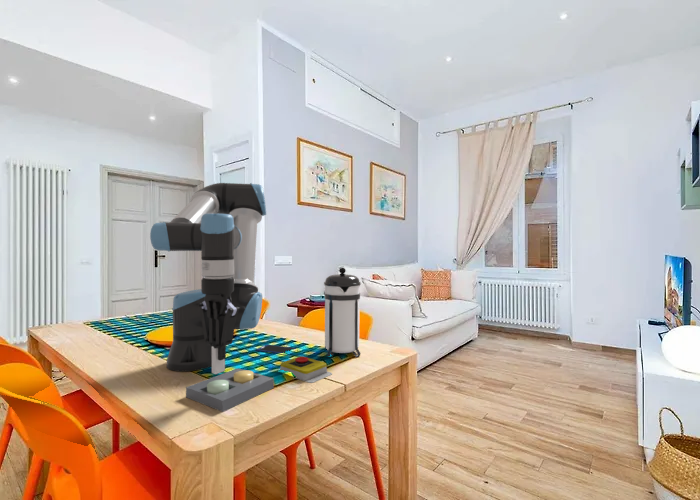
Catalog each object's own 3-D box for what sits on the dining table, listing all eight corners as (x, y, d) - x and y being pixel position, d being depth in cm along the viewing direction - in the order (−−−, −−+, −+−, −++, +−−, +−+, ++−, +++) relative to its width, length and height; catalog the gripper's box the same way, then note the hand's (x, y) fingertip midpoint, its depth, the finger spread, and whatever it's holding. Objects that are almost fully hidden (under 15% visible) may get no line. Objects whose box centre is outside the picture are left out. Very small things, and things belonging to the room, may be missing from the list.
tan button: (229, 385, 94) (229, 374, 94) (244, 379, 98) (244, 369, 98) (242, 390, 91) (242, 378, 91) (257, 383, 95) (257, 372, 95)
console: (186, 397, 88) (186, 387, 88) (238, 377, 101) (238, 368, 101) (222, 411, 80) (222, 400, 80) (273, 387, 94) (273, 378, 94)
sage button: (202, 396, 87) (202, 384, 87) (220, 389, 91) (220, 378, 91) (215, 401, 84) (215, 389, 84) (232, 394, 88) (233, 382, 88)
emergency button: (298, 351, 114) (333, 360, 104) (298, 364, 114) (333, 375, 104) (275, 358, 106) (311, 369, 97) (275, 372, 106) (311, 385, 97)
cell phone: (266, 346, 133) (266, 344, 133) (299, 350, 128) (299, 348, 128) (254, 351, 126) (254, 349, 126) (289, 356, 122) (289, 354, 122)
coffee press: (373, 351, 126) (374, 267, 126) (343, 362, 114) (343, 269, 114) (338, 342, 138) (338, 265, 137) (307, 351, 126) (307, 267, 125)
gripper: (187, 276, 87) (188, 371, 88) (222, 280, 80) (222, 382, 81) (214, 273, 94) (214, 362, 95) (248, 277, 87) (248, 372, 88)
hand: (218, 371), depth 88 cm, fingers closed
